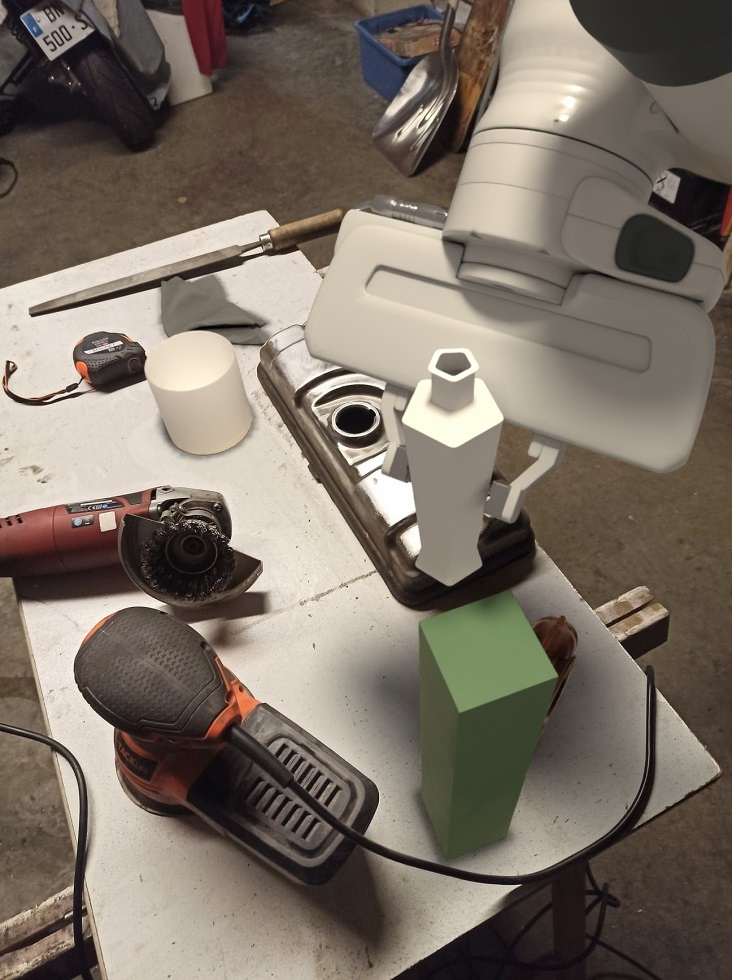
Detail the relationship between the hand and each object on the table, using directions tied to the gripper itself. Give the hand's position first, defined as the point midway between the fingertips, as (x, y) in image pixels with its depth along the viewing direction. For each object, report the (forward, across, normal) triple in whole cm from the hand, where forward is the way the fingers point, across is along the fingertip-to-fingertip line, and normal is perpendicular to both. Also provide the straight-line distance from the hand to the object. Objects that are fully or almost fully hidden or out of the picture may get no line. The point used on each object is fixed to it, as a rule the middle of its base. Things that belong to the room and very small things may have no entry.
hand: (447, 497), depth 38 cm
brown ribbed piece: (+24, +5, +38) cm, 45 cm away
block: (+33, +3, +29) cm, 44 cm away
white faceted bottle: (+4, 0, +5) cm, 7 cm away
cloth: (-2, -65, +63) cm, 91 cm away
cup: (+11, -50, +50) cm, 72 cm away
